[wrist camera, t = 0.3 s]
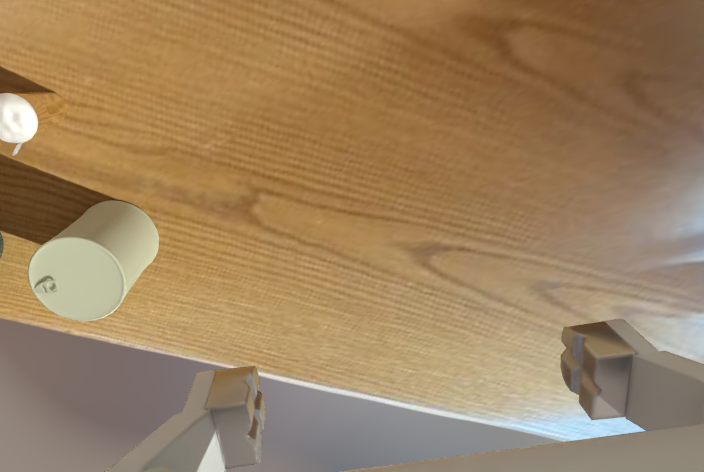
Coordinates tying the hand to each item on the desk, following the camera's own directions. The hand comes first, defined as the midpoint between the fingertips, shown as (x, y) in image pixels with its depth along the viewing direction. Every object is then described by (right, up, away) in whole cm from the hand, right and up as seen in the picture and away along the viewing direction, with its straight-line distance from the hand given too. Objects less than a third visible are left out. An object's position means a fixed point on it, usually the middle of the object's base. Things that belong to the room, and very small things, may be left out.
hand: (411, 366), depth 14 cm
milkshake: (-33, +17, +42) cm, 56 cm away
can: (-29, +3, +48) cm, 56 cm away
